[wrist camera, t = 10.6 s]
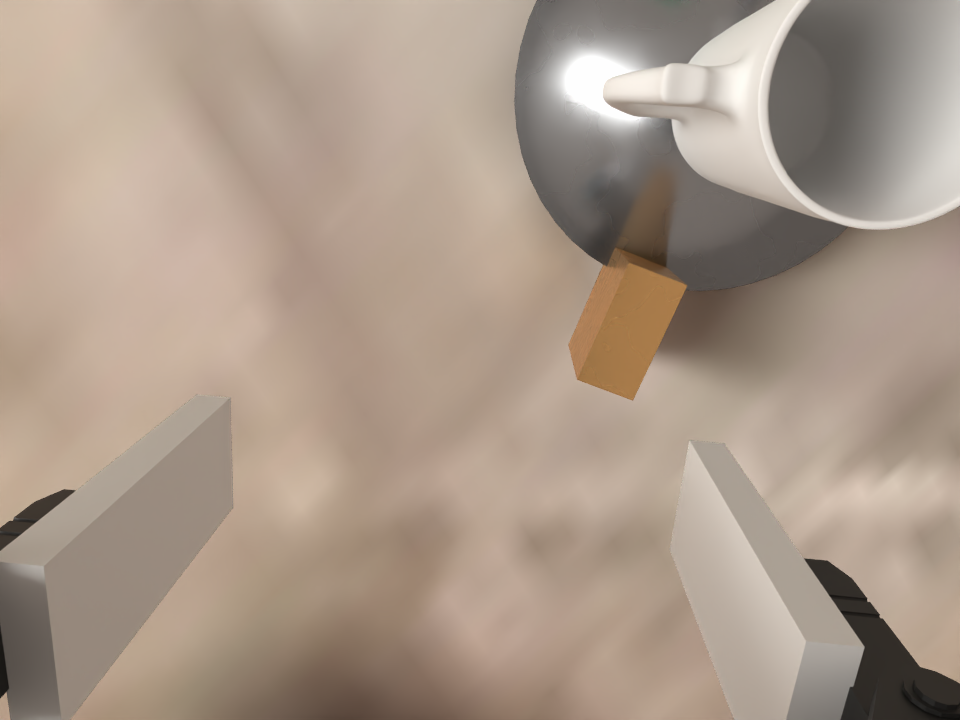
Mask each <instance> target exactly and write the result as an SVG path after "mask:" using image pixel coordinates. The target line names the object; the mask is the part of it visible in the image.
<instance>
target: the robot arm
mask: <svg viewBox="0 0 960 720" xmlns="http://www.w3.org/2000/svg"><path fill="white" fill-rule="evenodd" d="M232 508H233V475H232V434H231V397H220V396H209V395H198V394H197V395H195V396H194V397H193V398H192V399H190V400H189V401H188V402H187V403H185V404H184V405H183V406H182V407H180V408H179V409H178V410H177V411H175V412H174V413H173V414H172V415H170V416H169V417H168V418H166V419H165V420H164V421H163V422H161V423H160V424H159V425H158V426H156V427H155V428H154V429H153V430H151V431H150V432H149V433H148V434H146V435H145V436H144V437H143V438H141V439H140V440H139V441H138V442H136V443H135V444H134V445H133V446H131V447H130V448H129V449H128V450H126V451H125V452H124V453H123V454H121V455H120V456H119V457H118V458H116V459H115V460H114V461H113V462H111V463H110V464H109V465H108V466H106V467H105V468H104V469H103V470H101V471H100V472H99V473H97V474H96V475H95V476H94V477H92V478H91V479H90V480H89V481H87V482H86V483H85V484H84V485H82V486H81V487H80V488H79V489H77V490H76V491H75V490H65V489H64V490H61V491H59V492H57V493H54V494H52V495H50V496H47V497H45V498H43V499H40V500H38V501H36V502H34V503H33V504H31V505H30V506H29V507H27V508H26V509H25V510H23V511H22V512H21V513H19V514H18V515H17V516H15V517H14V520H13V521H9V522H7V523H6V524H5V525H3V526H2V527H1V528H0V698H1V697H2V696H3V695H4V694H5V693H6V691H7V698H8V705H9V712H10V719H11V720H70V719H71V718H72V717H73V715H74V714H75V713H76V711H77V710H78V709H79V707H80V706H81V705H82V704H83V702H84V701H85V700H86V698H87V697H88V696H89V694H90V693H91V692H92V691H93V689H94V688H95V687H96V685H97V684H98V683H99V681H100V680H101V679H102V678H103V676H104V675H105V674H106V672H107V671H108V670H109V668H110V667H111V666H112V665H113V663H114V662H115V661H116V659H117V658H118V657H119V655H120V654H121V653H122V652H123V650H124V649H125V648H126V646H127V645H128V644H129V642H130V641H131V640H132V638H133V637H134V636H135V635H136V633H137V632H138V631H139V629H140V628H141V627H142V625H143V624H144V623H145V622H146V620H147V619H148V618H149V616H150V615H151V614H152V612H153V611H154V610H155V609H156V607H157V606H158V605H159V603H160V602H161V601H162V599H163V598H164V597H165V596H166V594H167V593H168V592H169V590H170V589H171V588H172V586H173V585H174V584H175V583H176V581H177V580H178V579H179V577H180V576H181V575H182V573H183V572H184V571H185V570H186V568H187V567H188V566H189V564H190V563H191V562H192V560H193V559H194V558H195V557H196V555H197V554H198V553H199V551H200V550H201V549H202V547H203V546H204V545H205V544H206V542H207V541H208V540H209V538H210V537H211V536H212V534H213V533H214V532H215V531H216V529H217V528H218V527H219V525H220V524H221V523H222V521H223V520H224V519H225V518H226V516H227V515H228V514H229V512H230V511H231V510H232ZM670 552H671V554H672V557H673V560H674V562H675V565H676V568H677V570H678V573H679V575H680V578H681V581H682V583H683V586H684V589H685V591H686V594H687V597H688V599H689V602H690V605H691V607H692V610H693V613H694V615H695V618H696V621H697V623H698V626H699V629H700V631H701V634H702V637H703V639H704V642H705V645H706V647H707V650H708V653H709V655H710V658H711V660H712V663H713V666H714V668H715V671H716V674H717V676H718V679H719V682H720V684H721V687H722V690H723V692H724V695H725V698H726V700H727V703H728V706H729V708H730V711H731V714H732V716H733V719H734V720H960V684H959V683H958V682H956V681H954V680H952V679H950V678H948V677H946V676H944V675H942V674H940V673H938V672H935V671H932V670H928V669H925V668H921V667H919V665H918V664H917V663H916V661H915V660H914V659H913V657H912V656H911V655H910V653H909V652H908V651H907V650H906V648H905V647H904V646H903V644H902V643H901V642H900V640H899V639H898V638H897V637H896V635H895V634H894V633H893V631H892V630H891V629H890V627H889V626H888V625H887V624H886V622H885V621H884V620H883V619H881V618H880V617H879V615H880V614H879V613H878V612H877V610H876V609H875V608H874V607H873V605H872V604H871V603H870V602H867V597H866V596H865V595H864V594H863V592H862V591H861V590H860V588H859V587H858V586H857V584H856V583H855V582H854V580H853V579H852V578H850V577H849V576H848V575H846V574H845V573H844V572H842V571H841V570H840V569H838V568H837V567H835V566H834V565H833V564H831V563H830V562H829V561H825V560H814V559H804V558H803V557H802V555H801V554H800V552H799V551H798V550H797V548H796V547H795V545H794V544H793V542H792V541H791V539H790V538H789V536H788V535H787V534H786V532H785V531H784V529H783V528H782V526H781V525H780V523H779V522H778V520H777V519H776V518H775V516H774V515H773V513H772V512H771V510H770V509H769V507H768V506H767V505H766V503H765V502H764V500H763V499H762V497H761V496H760V494H759V493H758V491H757V490H756V489H755V487H754V486H753V484H752V483H751V481H750V480H749V478H748V477H747V475H746V474H745V473H744V471H743V470H742V468H741V467H740V465H739V464H738V462H737V461H736V459H735V458H734V457H733V455H732V454H731V452H730V451H729V449H728V448H727V446H726V445H725V444H724V443H715V442H705V441H694V440H689V446H688V451H687V457H686V462H685V468H684V473H683V479H682V484H681V490H680V495H679V501H678V506H677V512H676V517H675V523H674V528H673V534H672V539H671V545H670Z"/></svg>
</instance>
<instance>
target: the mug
mask: <svg viewBox="0 0 960 720" xmlns="http://www.w3.org/2000/svg"><path fill="white" fill-rule="evenodd" d="M602 96H603V99H604V101H605V102H606V103H607V104H608V105H609V106H611V107H613V108H614V109H616V110H619V111H621V112H624V113H626V114H629V115H632V116H637V117H651V118H668V119H672V129H673V134H674V138H675V141H676V144H677V146H678V148H679V151H680V152H681V154H682V156H683V158H684V159H685V160H686V162H687V163H688V164H689V165H690V166H691V168H692V169H693V170H695V171H696V172H697V173H698V174H699V175H701V176H702V177H704V178H705V179H707V180H709V181H711V182H713V183H715V184H718V185H720V186H723V187H726V188H729V189H731V190H734V191H736V192H739V193H742V194H745V195H748V196H751V197H754V198H758V199H761V200H764V201H767V202H770V203H773V204H776V205H779V206H782V207H785V208H788V209H791V210H794V211H797V212H800V213H803V214H806V215H809V216H812V217H815V218H819V219H823V220H827V221H831V222H835V223H838V224H841V225H844V226H848V227H853V228H859V229H868V230H887V229H898V228H904V227H909V226H913V225H917V224H921V223H924V222H927V221H930V220H932V219H935V218H938V217H940V216H942V215H944V214H946V213H948V212H950V211H952V210H954V209H956V208H958V207H959V206H960V0H775V1H773V2H772V3H770V4H768V5H767V6H765V7H763V8H762V9H760V10H758V11H757V12H755V13H753V14H752V15H750V16H748V17H746V18H745V19H743V20H741V21H739V22H738V23H736V24H734V25H733V26H731V27H730V28H728V29H727V30H725V31H724V32H723V33H721V34H720V35H718V36H716V37H715V38H713V39H712V40H711V41H709V42H708V43H707V44H705V45H704V46H703V47H702V48H701V49H700V50H699V51H698V52H697V53H696V54H695V55H694V56H693V58H692V59H691V60H690V62H689V63H688V64H683V63H671V64H668V65H666V66H663V67H656V68H650V69H644V70H639V71H634V72H629V73H625V74H621V75H617V76H613V77H611V78H609V79H607V80H606V81H605V83H604V85H603V90H602Z"/></svg>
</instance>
